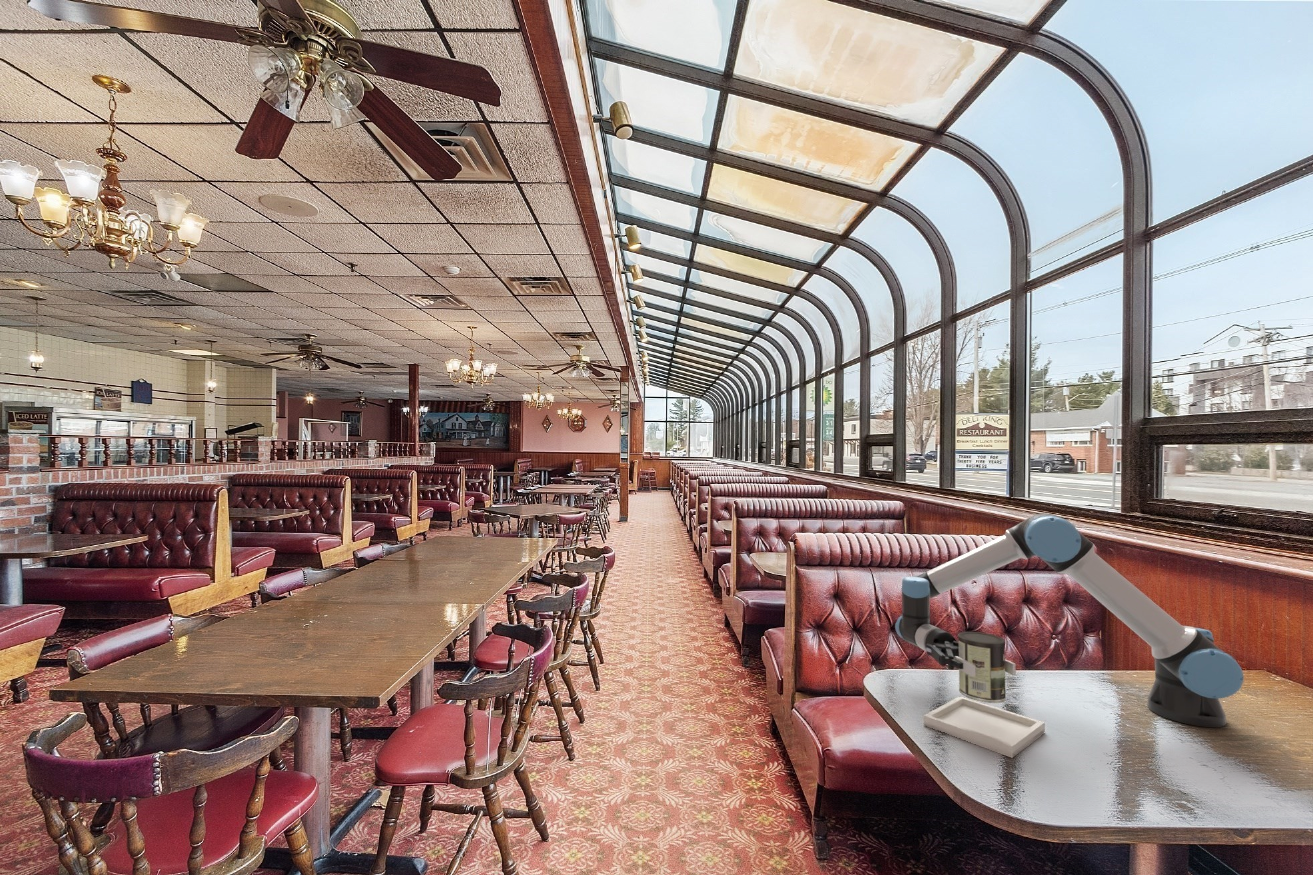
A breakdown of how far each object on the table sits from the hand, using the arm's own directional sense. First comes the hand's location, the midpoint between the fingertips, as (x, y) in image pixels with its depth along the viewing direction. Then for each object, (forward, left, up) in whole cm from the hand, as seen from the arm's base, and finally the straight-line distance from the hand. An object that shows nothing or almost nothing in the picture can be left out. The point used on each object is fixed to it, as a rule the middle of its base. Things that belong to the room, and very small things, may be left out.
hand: (994, 670), depth 138 cm
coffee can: (+4, -2, -8) cm, 9 cm away
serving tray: (+4, -2, -16) cm, 16 cm away
